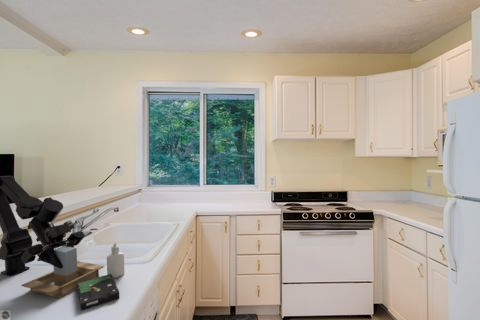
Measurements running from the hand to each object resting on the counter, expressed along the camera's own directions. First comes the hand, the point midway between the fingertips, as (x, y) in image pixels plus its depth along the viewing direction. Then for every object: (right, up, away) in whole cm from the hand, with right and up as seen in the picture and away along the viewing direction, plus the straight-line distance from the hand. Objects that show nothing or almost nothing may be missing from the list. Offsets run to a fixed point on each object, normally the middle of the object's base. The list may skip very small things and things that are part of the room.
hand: (68, 265), depth 88 cm
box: (-1, -7, +1) cm, 7 cm away
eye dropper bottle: (+14, -6, +6) cm, 16 cm away
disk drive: (+13, -7, -6) cm, 16 cm away
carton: (-1, -7, +1) cm, 7 cm away
